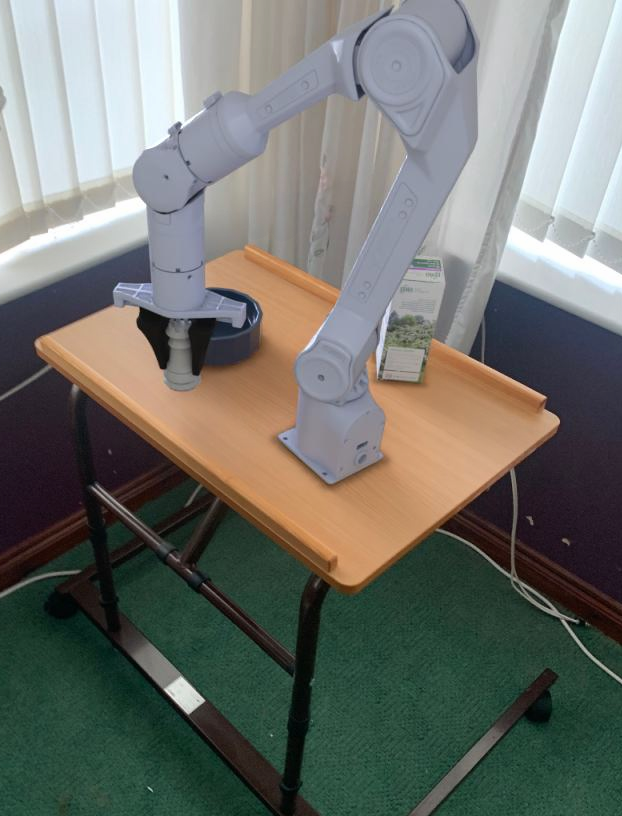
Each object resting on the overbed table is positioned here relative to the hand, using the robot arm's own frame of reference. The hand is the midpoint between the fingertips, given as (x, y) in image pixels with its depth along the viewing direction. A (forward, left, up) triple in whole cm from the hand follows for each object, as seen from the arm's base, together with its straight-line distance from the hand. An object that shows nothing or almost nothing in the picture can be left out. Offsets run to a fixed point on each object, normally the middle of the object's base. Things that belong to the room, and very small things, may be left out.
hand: (181, 367), depth 92 cm
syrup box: (-10, -26, -5) cm, 28 cm away
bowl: (+8, -10, -5) cm, 14 cm away
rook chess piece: (0, 0, -2) cm, 2 cm away
